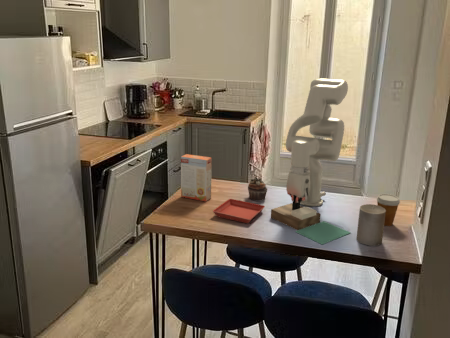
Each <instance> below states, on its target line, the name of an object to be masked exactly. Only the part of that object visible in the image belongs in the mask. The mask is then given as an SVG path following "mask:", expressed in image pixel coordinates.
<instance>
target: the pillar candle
mask: <svg viewBox="0 0 450 338" xmlns="http://www.w3.org/2000/svg"><path fill="white" fill-rule="evenodd" d="M358 213H359V214H358V222H357V231H356V241H357V242H358V243H359V244H362V245H365V246H369V247H377V246H378V247H379V246H380V245H381V244H383V243H382V242H383V238H384V229H385V226H384V222H385V213H386V210H385V209H384V208H383V207H381V206H378V205H377V204H372V203H371V204H370V203H366V204H361V205H360V206H359V212H358Z"/></svg>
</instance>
